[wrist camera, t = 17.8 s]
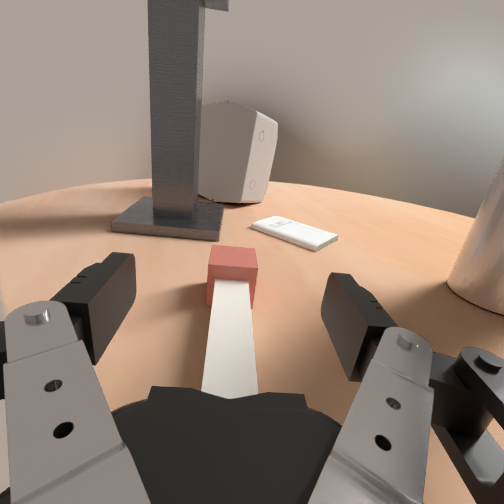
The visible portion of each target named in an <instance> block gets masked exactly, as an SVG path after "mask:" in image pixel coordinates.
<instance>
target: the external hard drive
mask: <svg viewBox="0 0 504 504" xmlns="http://www.w3.org/2000/svg"><path fill="white" fill-rule="evenodd" d="M251 228H253V229H255V230H258V231H261V232H263V233H266V234H269V235H271V236H274V237H277V238H280V239H282V240H285V241H288V242H290V243H293V244H296V245H298V246H301V247H304V248H307V249H309V250H312V251H315V252H317V251H319V250H321V249H322V248H324V247H326V246H328V245H329V244H331V243H333V242H335V241H336V240H338V236H339V235H336V234H333V233H330V232H327V231H324V230H321V229H317V228H314V227H311V226H308V225H305V224H302V223H298V222H295V221H292V220H289V219H286V218H283V217H280V216H273V217H270V218H266V219H263V220H259V221H256V222H253V223H252V224H251Z"/></svg>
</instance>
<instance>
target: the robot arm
mask: <svg viewBox="0 0 504 504" xmlns="http://www.w3.org/2000/svg"><path fill="white" fill-rule="evenodd" d="M447 284H448V286H449V287H450V288H451V289H452V291H454V292H455V293H456V294H458V295H459V296H461V297H462V298H464V299H466V300H467V301H469V302H471V303H473V304H475V305H478V306H480V307H482V308H485V309H487V310H490V311H493V312H496V313H499V314H502V315H504V156H503V158H502V161H501V163H500V165H499V167H498V170H497V172H496V175H495V176H494V179H493V181H492V183H491V185H490V188H489V190H488V192H487V194H486V196H485V199H484V201H483V203H482V205H481V207H480V210H479V212H478V214H477V216H476V219H475V221H474V223H473V225H472V227H471V230H470V232H469V234H468V236H467V238H466V241H465V243H464V245H463V247H462V249H461V252H460V254H459V256H458V258H457V260H456V263H455V265H454V267H453V269H452V271H451V274H450V276H449V278H448V280H447ZM135 297H136V269H135V257H134V255H133V254H129V253H118V252H112V253H111V254H110V255H109V256H108V257H107V258H106V259H105V260H104V261H103V262H102V263H95V264H93V265H91V266H89V267H87V268H84V269H83V270H82V271H81V272H80V273H79V274H78V275H77V277H75V278H73V279H72V280H71V281H70V283H68V284H67V285H66V286H65V287H63V288H62V289H61V290H60V291H59V292H58V293H57V294H56V295H55V296H54V297H52V298H51V299H50V300H49V301H38V302H33V303H29V304H26V305H24V306H21V307H19V308H17V309H15V310H14V311H12V312H11V313H10V314H8V316H7V317H6V319H5V321H1V322H0V400H1V399H5V406H6V423H7V439H8V454H9V455H8V457H9V474H10V487H9V488H7V489H6V490H5V491H3V492H2V493H1V494H0V504H424V503H423V502H422V501H423V492H424V483H425V473H426V464H427V455H428V445H429V436H430V427H431V426H432V428H433V430H434V431H435V433H436V435H437V437H438V438H439V440H440V442H441V443H442V445H443V447H444V449H445V450H446V452H447V454H448V455H449V457H450V459H451V461H452V462H453V464H454V466H455V467H456V469H457V471H458V472H459V474H460V476H461V478H462V479H463V481H464V483H465V484H466V486H467V488H468V490H469V491H470V493H471V495H472V496H473V498H474V500H475V502H476V503H477V504H504V452H503V450H502V449H501V448H500V446H499V445H498V444H497V442H496V441H495V440H494V439H493V437H492V436H491V435H490V433H489V432H488V431H487V429H486V428H487V427H488V425H489V424H490V422H491V421H492V419H493V418H495V420H496V421H497V422H498V423H499V425H500V426H501V427H502V428H503V429H504V360H503V359H501V358H500V357H498V356H496V355H494V354H492V353H490V352H488V351H485V350H482V349H479V348H475V347H465V348H463V349H462V350H461V352H460V354H459V355H458V357H457V358H454V357H450V356H447V355H443V354H439V353H436V352H433V349H432V347H431V345H430V344H429V343H428V341H427V340H425V339H424V338H423V337H422V336H420V335H418V334H417V333H415V332H413V331H410V330H408V329H405V328H400V327H398V326H397V325H396V323H395V322H394V321H393V320H392V318H391V317H390V316H389V315H388V313H387V312H386V311H385V310H384V309H383V307H382V306H381V305H380V303H378V301H377V300H376V298H375V297H374V296H373V295H372V293H370V292H369V291H367V290H366V289H364V288H363V287H362V286H359V285H358V284H357V282H356V281H355V280H354V278H353V277H352V276H351V275H350V274H344V273H333V272H332V273H331V274H330V275H329V278H328V281H327V285H326V289H325V293H324V297H323V301H322V305H321V316H322V320H323V322H324V324H325V327H326V329H327V331H328V334H329V336H330V338H331V341H332V343H333V345H334V347H335V350H336V352H337V354H338V357H339V359H340V361H341V364H342V366H343V368H344V371H345V373H346V375H347V378H348V380H349V381H355V382H361V385H360V387H359V389H358V391H357V394H356V396H355V398H354V401H353V403H352V405H351V408H350V410H349V412H348V414H347V417H346V419H345V421H344V424H343V426H342V425H340V424H339V423H338V422H336V421H335V420H333V419H332V418H330V417H329V416H327V415H325V414H323V413H321V412H319V411H316V410H314V409H311V408H308V407H307V404H306V400H305V396H304V394H291V393H272V392H267V393H261V394H256V395H250V396H245V397H239V398H234V399H227V398H223V397H220V396H216V395H213V394H209V393H206V392H202V391H199V390H195V389H192V388H179V387H160V386H152V387H151V390H150V393H149V396H148V399H146V400H141V401H137V402H134V403H130V404H128V405H125V406H123V407H120V408H118V409H116V410H114V411H112V412H110V409H109V406H108V404H107V401H106V399H105V396H104V394H103V391H102V388H101V386H100V383H99V381H98V378H97V376H96V373H95V370H94V368H93V365H96V364H97V363H98V361H99V359H100V358H101V356H102V354H103V353H104V351H105V349H106V348H107V346H108V344H109V343H110V341H111V340H112V338H113V336H114V335H115V333H116V331H117V330H118V328H119V326H120V325H121V323H122V321H123V320H124V318H125V316H126V315H127V313H128V311H129V310H130V308H131V307H132V305H133V303H134V300H135Z"/></svg>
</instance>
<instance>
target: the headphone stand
mask: <svg viewBox="0 0 504 504" xmlns="http://www.w3.org/2000/svg"><path fill="white" fill-rule="evenodd" d="M205 8H209V9H215V10H222V11H228V9H229V0H148V33H149V34H148V35H149V74H150V114H151V151H152V152H151V153H152V192H153V197H143V198H141V199H140V200H139V201H137V202H136V203H135V204H133V205H132V206H131V207H129V208H128V209H127V210H125V211H124V212H123V213H122V214H120V215H119V216H118V217H116V218H115V219H114V220H112V221H111V226H112V232H122V233H134V234H145V235H156V236H167V237H178V238H189V239H200V240H211V241H219V236H220V230H221V225H222V219H223V213H224V205H222V204H212V203H202V202H198V179H199V153H200V128H201V102H202V75H203V51H204V25H205Z"/></svg>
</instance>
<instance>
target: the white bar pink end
mask: <svg viewBox="0 0 504 504" xmlns="http://www.w3.org/2000/svg"><path fill="white" fill-rule="evenodd" d="M257 272H258V265H257V259H256V253H255V249H254V248H242V247H231V246H219V245H212V247H211V253H210V258H209V263H208V278H207V294H206V306H212V309H211V317H210V325H209V333H208V341H207V349H206V357H205V365H204V373H203V381H202V389H201V391H202V392H206V393H209V394H213V395H216V396H220V397H223V398H227V399H234V398H239V397H245V396H250V395H256V394H258V384H257V373H256V362H255V350H254V339H253V327H252V316H251V309H252V307H253V300H254V293H255V286H256V279H257Z"/></svg>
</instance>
